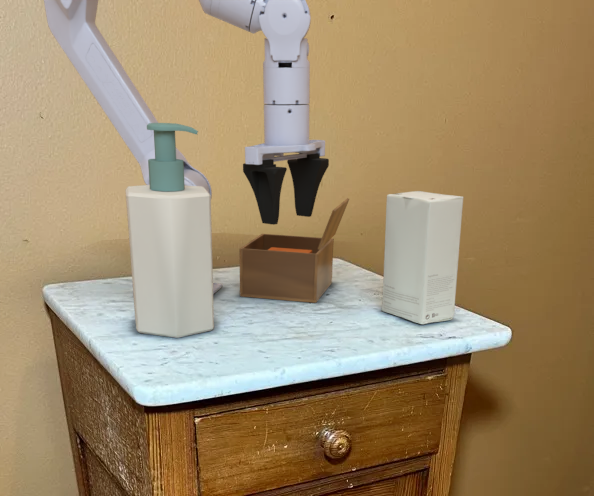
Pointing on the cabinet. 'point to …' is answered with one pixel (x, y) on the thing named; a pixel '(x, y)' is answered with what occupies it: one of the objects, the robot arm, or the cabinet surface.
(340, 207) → the flap
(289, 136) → the robot arm
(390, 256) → the cosmetic box
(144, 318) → the soap bottle
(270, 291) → the carton
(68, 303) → the cabinet surface
